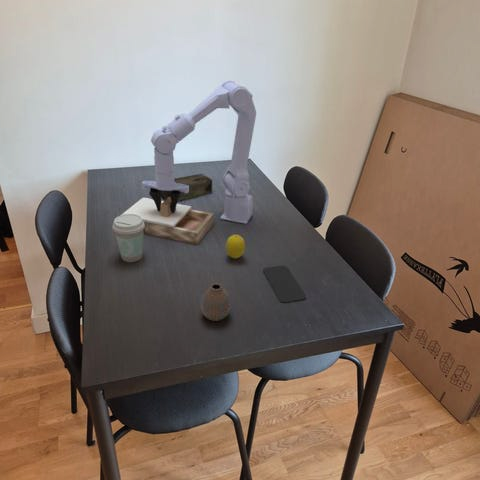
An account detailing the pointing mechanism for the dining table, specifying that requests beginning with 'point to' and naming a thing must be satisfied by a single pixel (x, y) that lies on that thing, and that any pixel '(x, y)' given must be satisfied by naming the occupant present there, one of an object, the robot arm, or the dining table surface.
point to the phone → (284, 284)
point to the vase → (215, 303)
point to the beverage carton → (192, 186)
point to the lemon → (235, 246)
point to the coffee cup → (129, 236)
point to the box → (184, 227)
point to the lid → (158, 212)
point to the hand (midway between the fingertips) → (166, 210)
